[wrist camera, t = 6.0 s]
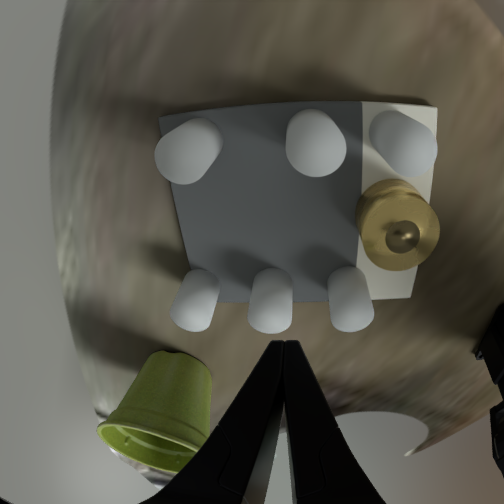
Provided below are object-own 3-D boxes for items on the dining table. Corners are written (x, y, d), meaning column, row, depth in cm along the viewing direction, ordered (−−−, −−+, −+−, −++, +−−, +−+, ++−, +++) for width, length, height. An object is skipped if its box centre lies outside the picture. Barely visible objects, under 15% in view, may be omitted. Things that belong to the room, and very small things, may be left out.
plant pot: (159, 318, 24) (119, 414, 16) (253, 375, 26) (239, 467, 19) (117, 361, 28) (84, 435, 21) (195, 405, 31) (176, 478, 24)
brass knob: (427, 179, 15) (446, 200, 13) (417, 244, 17) (431, 270, 15) (356, 177, 15) (366, 198, 13) (352, 244, 18) (359, 272, 15)
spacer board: (432, 106, 13) (465, 119, 10) (408, 291, 20) (422, 330, 17) (150, 118, 15) (118, 134, 12) (191, 295, 22) (177, 334, 19)
